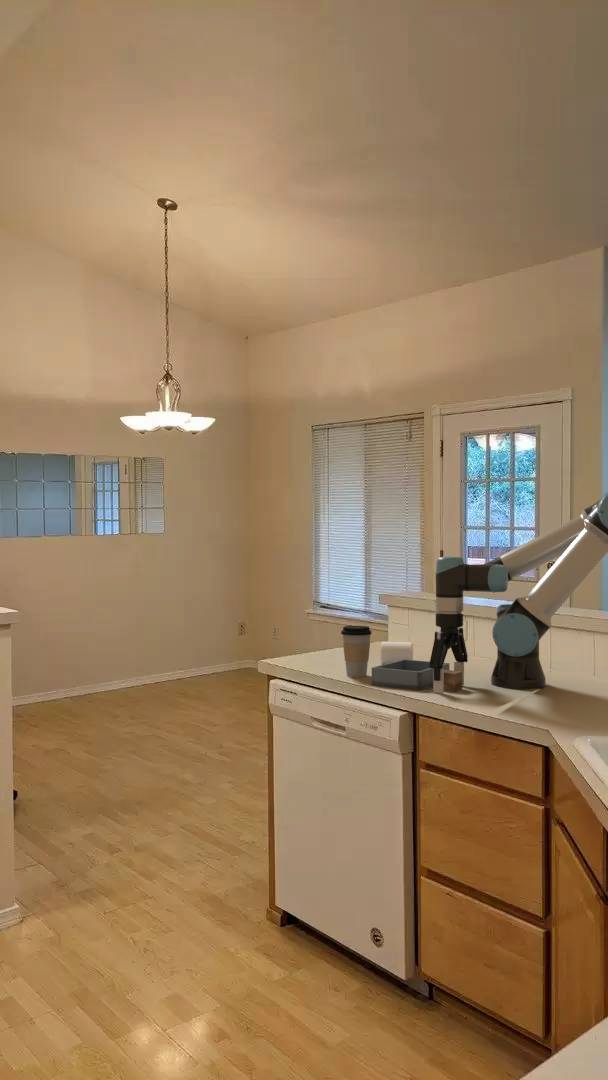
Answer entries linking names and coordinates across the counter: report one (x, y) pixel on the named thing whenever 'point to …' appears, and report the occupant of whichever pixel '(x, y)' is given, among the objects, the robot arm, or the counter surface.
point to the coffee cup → (356, 649)
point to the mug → (396, 651)
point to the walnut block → (452, 680)
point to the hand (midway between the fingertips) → (448, 689)
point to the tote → (405, 674)
